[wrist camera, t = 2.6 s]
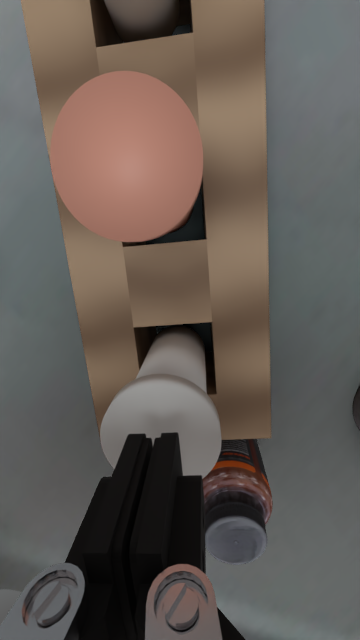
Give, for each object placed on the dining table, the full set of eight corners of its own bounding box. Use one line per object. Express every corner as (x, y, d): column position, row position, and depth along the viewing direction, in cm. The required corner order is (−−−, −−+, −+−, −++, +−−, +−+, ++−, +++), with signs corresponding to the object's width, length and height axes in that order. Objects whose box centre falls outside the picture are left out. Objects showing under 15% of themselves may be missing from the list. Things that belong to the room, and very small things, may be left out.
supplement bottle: (183, 415, 30) (173, 518, 19) (240, 396, 29) (265, 492, 18) (205, 463, 31) (208, 586, 20) (261, 446, 30) (296, 565, 19)
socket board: (251, 384, 28) (271, 438, 20) (127, 390, 29) (100, 444, 21) (237, -47, 20) (260, -226, 12) (67, -18, 21) (-9, -165, 14)
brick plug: (204, 238, 19) (208, 234, 10) (131, 244, 20) (65, 248, 10) (198, 156, 18) (197, 59, 8) (121, 165, 19) (35, 82, 9)
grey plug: (213, 379, 22) (224, 489, 12) (149, 383, 22) (109, 492, 13) (209, 315, 21) (217, 381, 11) (141, 320, 21) (90, 388, 11)
